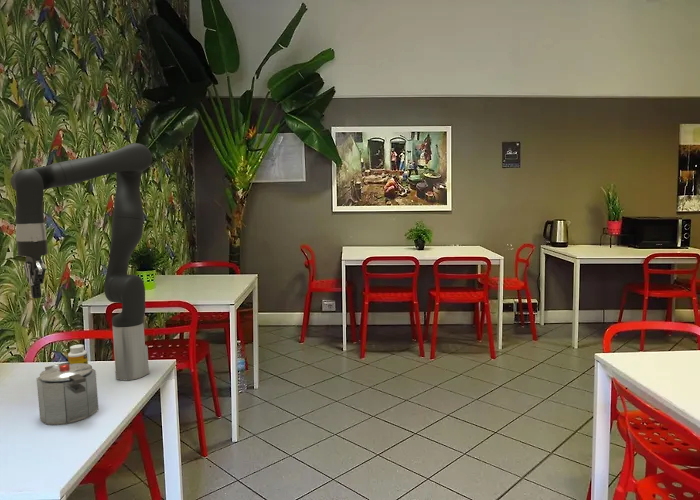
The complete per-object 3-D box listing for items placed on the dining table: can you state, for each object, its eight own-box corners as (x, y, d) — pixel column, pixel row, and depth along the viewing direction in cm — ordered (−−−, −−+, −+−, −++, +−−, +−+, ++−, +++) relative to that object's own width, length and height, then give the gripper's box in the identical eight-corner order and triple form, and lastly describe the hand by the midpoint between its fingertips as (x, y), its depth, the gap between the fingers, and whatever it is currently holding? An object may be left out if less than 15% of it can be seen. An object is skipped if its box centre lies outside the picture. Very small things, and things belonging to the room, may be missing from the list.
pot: (85, 398, 152) (82, 361, 151) (110, 416, 140) (107, 376, 138) (32, 413, 143) (29, 374, 141) (54, 434, 130) (50, 391, 129)
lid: (80, 362, 150) (80, 355, 150) (105, 376, 137) (105, 368, 137) (32, 374, 142) (31, 366, 141) (53, 390, 129) (53, 381, 128)
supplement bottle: (87, 378, 169) (85, 347, 168) (68, 380, 167) (65, 349, 166) (89, 372, 174) (87, 342, 173) (70, 375, 172) (68, 344, 171)
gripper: (10, 238, 154) (15, 296, 156) (23, 241, 145) (28, 303, 147) (39, 236, 159) (44, 293, 161) (53, 239, 150) (58, 298, 152)
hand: (36, 297), depth 154 cm, fingers closed
